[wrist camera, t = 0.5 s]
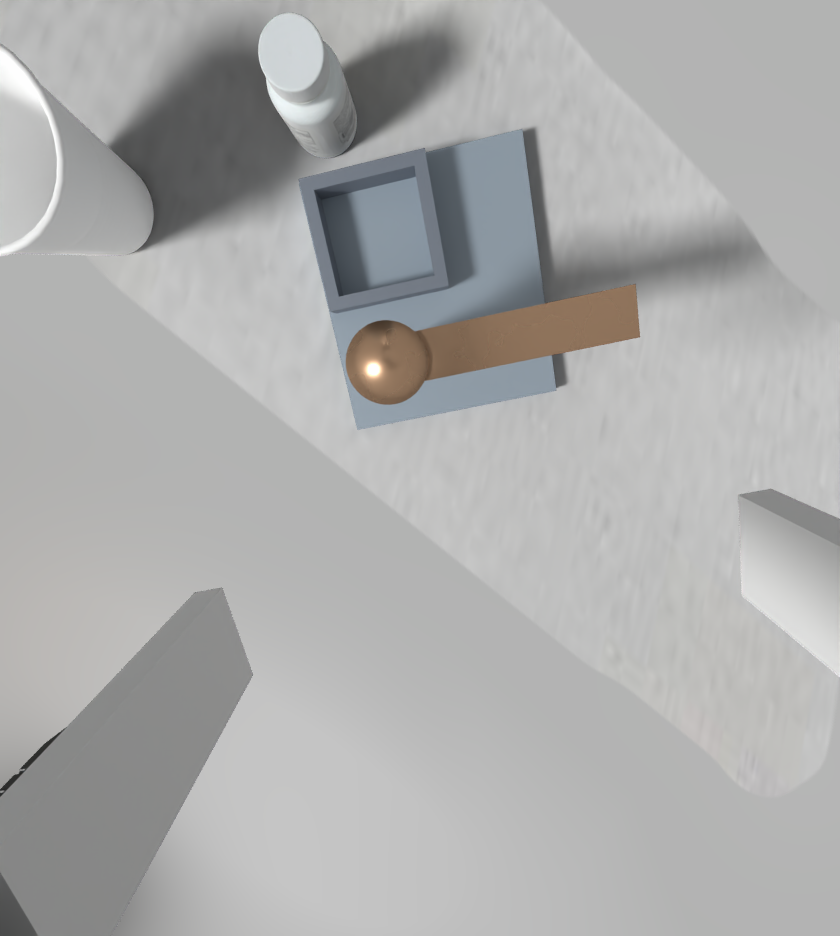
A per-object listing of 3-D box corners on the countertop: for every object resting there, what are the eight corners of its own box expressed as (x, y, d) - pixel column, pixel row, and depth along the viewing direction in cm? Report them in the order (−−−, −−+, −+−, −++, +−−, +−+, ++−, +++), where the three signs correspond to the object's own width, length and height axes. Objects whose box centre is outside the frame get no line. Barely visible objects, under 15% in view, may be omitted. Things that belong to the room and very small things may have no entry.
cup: (110, 94, 31) (-58, -36, 21) (212, 223, 33) (106, 165, 22) (15, 196, 33) (-185, 124, 22) (117, 313, 35) (-24, 298, 24)
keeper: (363, 406, 25) (356, 412, 23) (345, 331, 24) (336, 329, 22) (624, 353, 24) (643, 354, 22) (617, 272, 23) (635, 264, 21)
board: (302, 188, 32) (245, 120, 23) (519, 135, 31) (557, 39, 21) (359, 427, 36) (331, 456, 27) (552, 389, 35) (597, 405, 25)
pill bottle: (345, 73, 30) (316, -15, 23) (366, 147, 31) (345, 84, 24) (283, 97, 31) (234, 17, 23) (306, 169, 32) (266, 114, 24)
